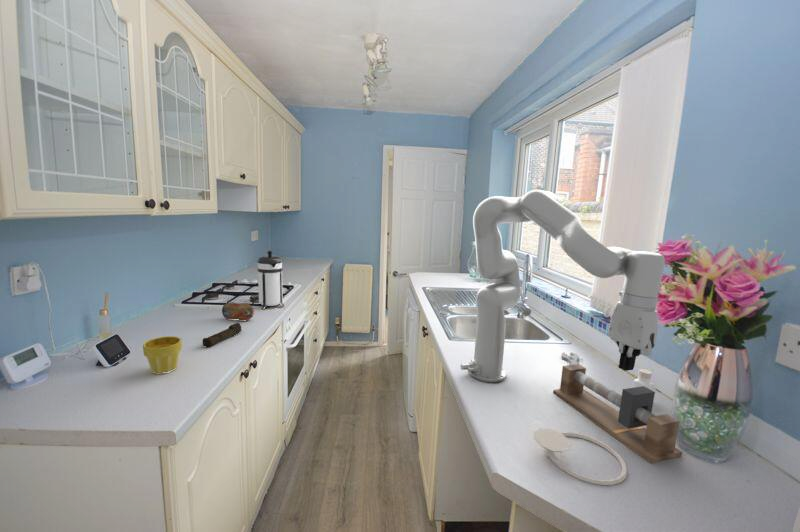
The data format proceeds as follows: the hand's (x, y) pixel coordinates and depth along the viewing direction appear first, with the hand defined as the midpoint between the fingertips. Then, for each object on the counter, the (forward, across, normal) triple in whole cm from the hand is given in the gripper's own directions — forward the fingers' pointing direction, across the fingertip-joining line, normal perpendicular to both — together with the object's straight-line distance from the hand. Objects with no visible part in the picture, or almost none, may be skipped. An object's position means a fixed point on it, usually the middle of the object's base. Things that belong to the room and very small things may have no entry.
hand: (625, 368), depth 93 cm
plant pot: (+20, -60, -122) cm, 138 cm away
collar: (+13, +4, 0) cm, 14 cm away
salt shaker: (+17, -9, +20) cm, 27 cm away
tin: (+21, -110, -106) cm, 155 cm away
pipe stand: (+16, -3, 0) cm, 17 cm away
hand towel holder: (+17, +8, -20) cm, 27 cm away
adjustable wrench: (+18, -32, +16) cm, 40 cm away
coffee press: (+21, -133, -94) cm, 164 cm away
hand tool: (+20, -86, -109) cm, 140 cm away
